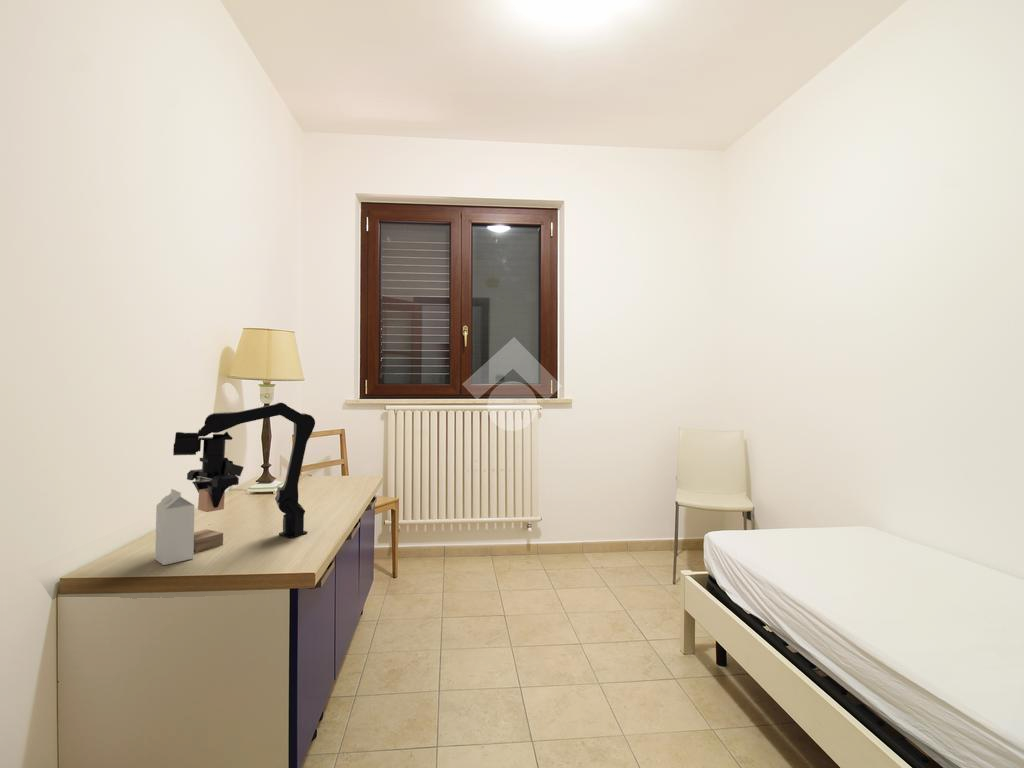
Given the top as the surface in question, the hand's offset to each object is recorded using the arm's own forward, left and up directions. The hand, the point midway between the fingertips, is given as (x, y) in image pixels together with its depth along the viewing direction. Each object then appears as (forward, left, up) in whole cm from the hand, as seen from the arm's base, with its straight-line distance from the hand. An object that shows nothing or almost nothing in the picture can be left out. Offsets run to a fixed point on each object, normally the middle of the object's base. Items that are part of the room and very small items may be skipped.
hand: (211, 506), depth 151 cm
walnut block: (0, +2, -12) cm, 12 cm away
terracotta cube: (0, 0, -1) cm, 1 cm away
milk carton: (-5, +12, -12) cm, 18 cm away
